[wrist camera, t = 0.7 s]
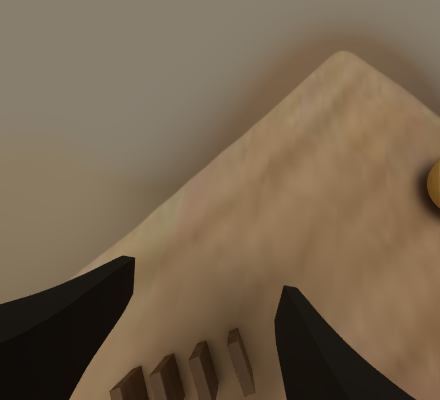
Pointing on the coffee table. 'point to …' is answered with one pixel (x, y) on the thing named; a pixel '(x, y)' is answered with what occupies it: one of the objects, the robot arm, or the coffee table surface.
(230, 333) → the domino
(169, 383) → the domino
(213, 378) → the domino
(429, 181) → the stress ball
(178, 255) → the coffee table surface
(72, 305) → the robot arm
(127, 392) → the domino
